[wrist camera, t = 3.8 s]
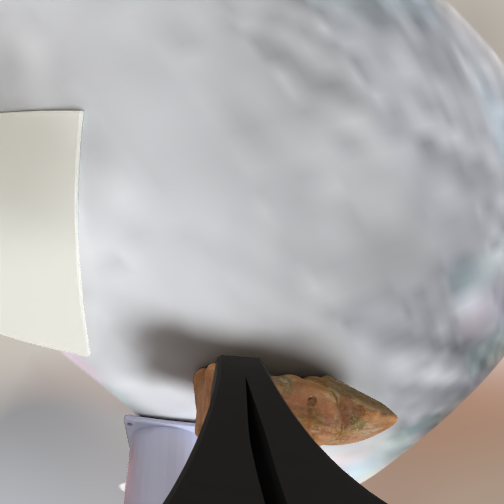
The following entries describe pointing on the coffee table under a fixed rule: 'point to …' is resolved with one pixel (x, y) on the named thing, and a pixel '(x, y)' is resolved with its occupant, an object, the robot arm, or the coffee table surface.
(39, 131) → the felt mat
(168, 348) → the coffee table surface
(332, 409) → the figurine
